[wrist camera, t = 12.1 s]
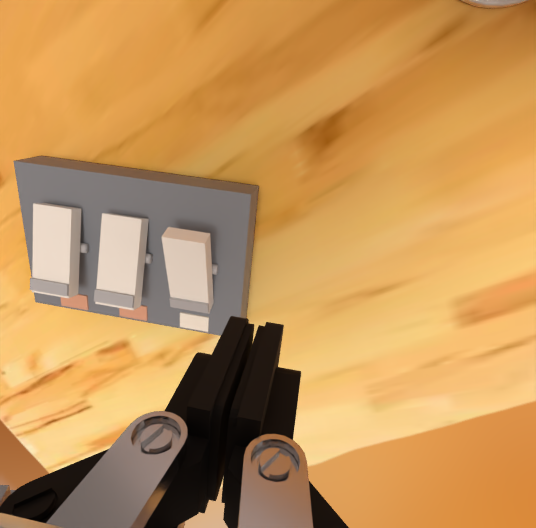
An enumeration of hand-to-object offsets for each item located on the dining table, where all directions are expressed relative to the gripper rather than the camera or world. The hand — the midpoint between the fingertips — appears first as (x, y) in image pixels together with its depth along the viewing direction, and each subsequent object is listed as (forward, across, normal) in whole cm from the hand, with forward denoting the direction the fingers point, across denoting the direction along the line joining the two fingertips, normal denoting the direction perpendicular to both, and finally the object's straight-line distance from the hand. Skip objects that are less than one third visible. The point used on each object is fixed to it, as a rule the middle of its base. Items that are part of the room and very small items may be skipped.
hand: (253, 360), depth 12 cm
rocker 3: (+23, +10, +9) cm, 27 cm away
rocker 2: (+23, +17, +9) cm, 30 cm away
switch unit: (+29, +17, +9) cm, 35 cm away
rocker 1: (+23, +24, +9) cm, 35 cm away
